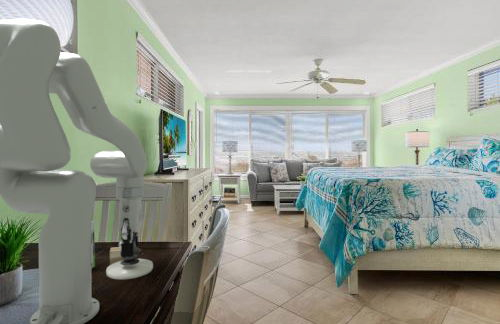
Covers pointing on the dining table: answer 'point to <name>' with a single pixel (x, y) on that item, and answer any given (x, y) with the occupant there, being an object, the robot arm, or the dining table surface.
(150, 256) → the dining table surface
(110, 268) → the cream plate
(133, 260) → the dark grey tall piece
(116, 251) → the birch block
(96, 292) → the dining table surface
